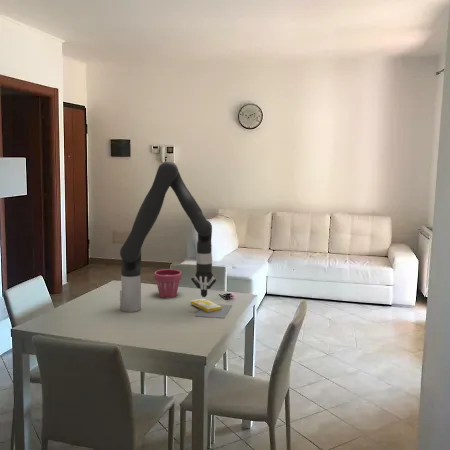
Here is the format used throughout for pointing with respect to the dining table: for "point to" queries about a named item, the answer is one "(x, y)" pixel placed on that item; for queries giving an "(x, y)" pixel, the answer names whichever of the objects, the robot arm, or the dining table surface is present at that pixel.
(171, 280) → the plant pot
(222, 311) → the mat
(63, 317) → the dining table surface
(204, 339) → the dining table surface
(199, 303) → the candy box
